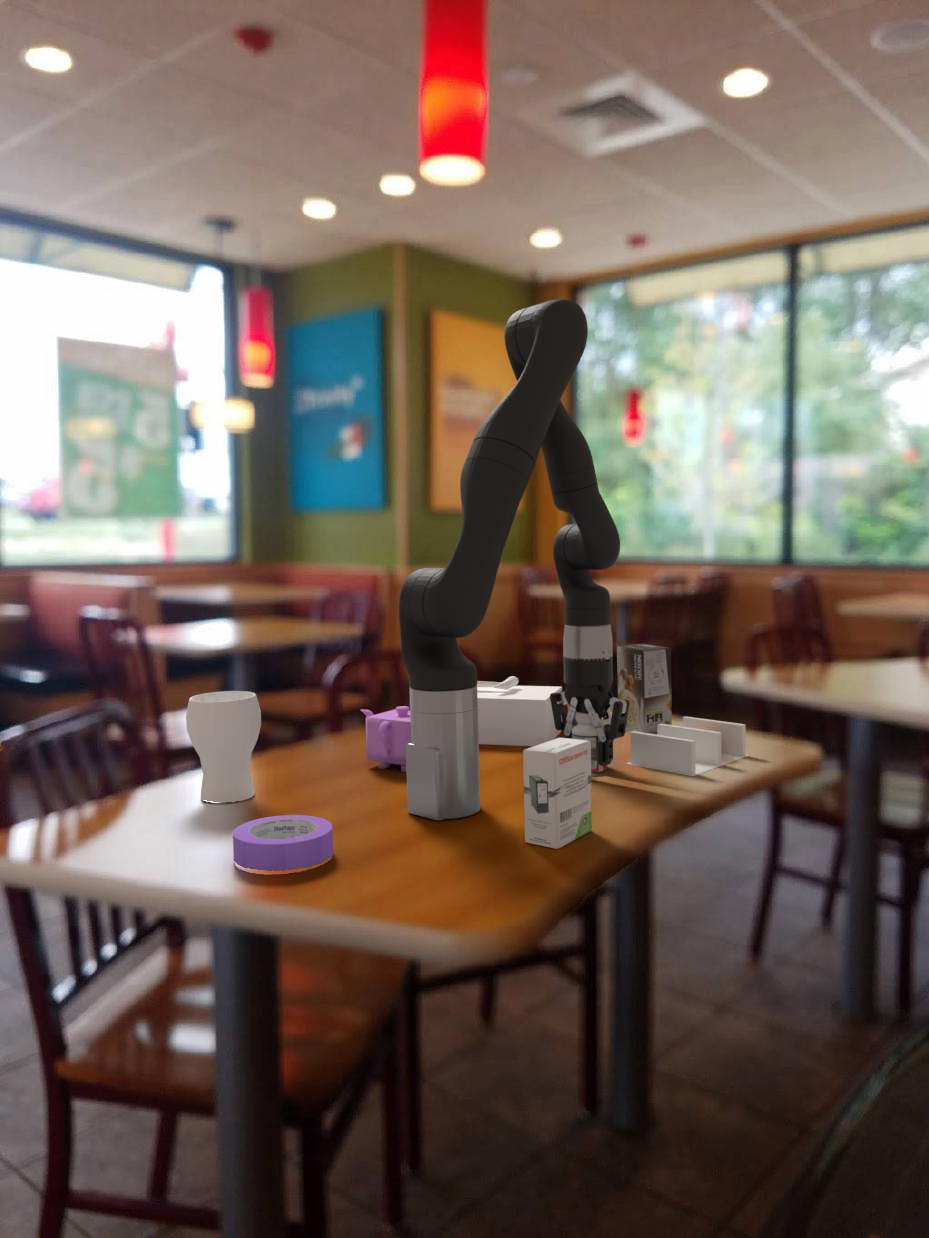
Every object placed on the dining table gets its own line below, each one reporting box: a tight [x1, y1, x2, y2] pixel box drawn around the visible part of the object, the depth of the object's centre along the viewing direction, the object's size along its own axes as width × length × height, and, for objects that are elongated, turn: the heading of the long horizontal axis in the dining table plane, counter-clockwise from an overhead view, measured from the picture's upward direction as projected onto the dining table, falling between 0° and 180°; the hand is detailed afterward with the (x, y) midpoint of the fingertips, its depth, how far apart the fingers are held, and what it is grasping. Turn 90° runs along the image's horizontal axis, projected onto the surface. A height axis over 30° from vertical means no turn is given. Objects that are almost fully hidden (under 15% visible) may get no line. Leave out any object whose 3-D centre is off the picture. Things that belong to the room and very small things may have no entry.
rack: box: [626, 716, 750, 777], centre depth 153 cm, size 17×12×6 cm
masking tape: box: [232, 814, 334, 871], centre depth 114 cm, size 12×12×4 cm
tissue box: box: [477, 675, 563, 747], centre depth 179 cm, size 14×25×11 cm, turn 73°
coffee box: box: [616, 643, 673, 734], centre depth 179 cm, size 9×6×16 cm
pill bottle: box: [572, 712, 608, 778], centre depth 149 cm, size 5×5×10 cm
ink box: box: [522, 737, 593, 850], centre depth 119 cm, size 9×5×12 cm, turn 142°
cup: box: [185, 690, 262, 803], centre depth 141 cm, size 11×11×15 cm
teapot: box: [360, 705, 411, 773], centre depth 158 cm, size 18×13×10 cm
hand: (589, 761), depth 150 cm, fingers closed on pill bottle, 5 cm apart
